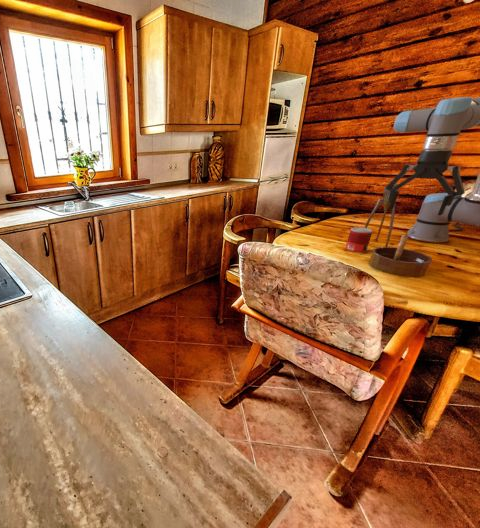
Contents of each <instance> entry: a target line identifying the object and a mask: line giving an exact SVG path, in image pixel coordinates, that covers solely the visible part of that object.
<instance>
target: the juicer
mask: <svg viewBox="0 0 480 528" xmlns="http://www.w3.org/2000/svg"><path fill="white" fill-rule="evenodd" d="M397 185H398V183H396V184H395V185H394V186H393V187H395V186H397ZM385 188H386V186H385V187H384V189H383V194H382V198H379V199H378V201H377V202H376V204H375V206H374V208H373V210H372V211H371V213H370V214H369V217H368V219H367V220H366V223H365V225H364V227H363V228H368V226H369V224H370V222H371V220H372V218H373V216H374V214H375V213H376V211H377V209H378V208H379V206H380V205H381V204H382V205H383V211H384V212H383V215H382V218H381V221H380V225H379V227H378V231H377V235H376V238H375V241H376V242H378V240H379V237H380V234H381V231H382V229H383V225H384V222H385V218H386V215H387V211H388V208H389V205H390V202H391V200H389V199H388V198H389V195H390V190H388V189H385ZM396 191H399V189H398V190H396ZM395 213H396V204H395V205H394V208H393V209H391V214H390V223H389V228H388V234H387V237H386V242H385V246H384V247H389V242H390V239H391V235H392V230H393V226H394V221H395Z"/></svg>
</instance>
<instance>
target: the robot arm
mask: <svg viewBox="0 0 480 528" xmlns="http://www.w3.org/2000/svg"><path fill="white" fill-rule="evenodd" d="M474 127H480V96H476V97H471V96H461V97H451V98H445V99H441V100H440V101H439V102H438V103H437V106H435V107H429V108H422V109H411V110H404V111H402V112H400V113H398V115H397V116H396V118H395V119H394V123H393V130H394V131H395V132H396V133H416V132H427V134H426V136H425V139H424V142H423V144H422V148H421V149H422V151H420V153H419V156H418V159H417V162H416V164H415V165H414V164H410V163H407V164H404V165H403V167H402V168H401V171H400V172H399V173H398V174H397V175H396V176H395V177H394V178H393V179H391V181H390V182H389V183H388V184H387V185H386V186H385V187H386V188H385V187H384V189H388V190H390V195H389V198H388V199H389V200H391V202H390V205H389V206H388V208H387V210H392V209H393V208H394V205H395V206H396V202H397V199H398V196H399V193H400V190H399V189H401V188H402V187H404V186H405V185H407V184H408V183H410V182H412V181H413V180H415V179H416V178H419V179H427V180H428V179H429V180H432V179H433V180H434V179H436V181H438V183H439V184H440V185H441V187H442V188H443V190H444V191H445V192H437V193H430V194H428V195H426V196H425V197H424V200H423V202H422V203H421V207H420V210H419V212H418V215H417V217H416V221H415V223H414V224H413V225H412V226H411V227H410V228H409V230H407V233H405V234H406V235H408V239H409V240H414V241H417V242H418V241H419V242H423V243H430V244H445V243H447V242H448V241H449V239H450V232H457V231H464V227H463V226H460V225H459V224H462V225H469V226H474V227H480V170H479V171H478V174H477V177H476V180H475V182H474V185H473V188H472V190H471V192H468V193H467V194H465V193H466V191H465V188H464V187H465V186H464V183H463V181H462V176H461V174H460V171H461V165H460V164H457V165H450V166H449V161H450V159H451V156H452V155H453V151H452V150H453V149H454V148H455V147H456V144H457V142H458V139H459V136H460V133H461V131H466V130H469V129H472V128H474ZM412 169H413V172H414V173H413V174H412V175H410V176H409V177H407V178H406V179H404V180H403V181H401V182H400V183H399V184H398V182H399V181H400V180H401V179H402V178H403V177H404V176H405V175H406V174H407V173H408V172H411V171H412ZM446 171H449V173H451V176H452V180H453V184H454V187H455V190H454V188H453V187H452V185H451V184H450V183H449V181H448V180H447V179H446V177H445V175H444V173H445V172H446ZM395 184H398V185H397V186H395V187H393V186H394V185H395ZM396 190H398V191H396ZM463 195H465V196H464V197H463ZM450 223H454V224H453V225H454V227H457V228H452V229H449V226H450Z"/></svg>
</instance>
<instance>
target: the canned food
mask: <svg viewBox="0 0 480 528" xmlns="http://www.w3.org/2000/svg"><path fill="white" fill-rule="evenodd" d="M372 234H373V230H372V229H371V228H368V227H367V228H364V227H362V226H361V227H360V226H354V227H351V228H350V231H349V234H348V238H347V241H346V245H345V251H348V252H351V253H358V254H363V253H366V252H367V250H368V247H369V244H370V241H371V239H372Z"/></svg>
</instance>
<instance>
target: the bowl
mask: <svg viewBox="0 0 480 528" xmlns="http://www.w3.org/2000/svg"><path fill="white" fill-rule="evenodd" d="M397 248H398V247H396V246H387V247H385V246H380V247H379V246H377V247H374V248H373V249H372V250H371V254H370V257H369V259H368V266H370V267H372V268H373V269H375V270H377V271H380V272H382V273H387V274H389V275H394V276H400V277H408V278H409V277H410V278H417V277H418V278H420V277H424V276H426V275H427V273H428V271H429V269H430V267H431V264H432V263H433V259H432V257H431V256H430V255H427V254H425V253H424V252H419V251H416V250H414V249H408V248H404V249H403V252H402V255H401V257H400V260H399V261H398V260H393V259H394V256H395V253H396V251H397Z"/></svg>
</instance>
